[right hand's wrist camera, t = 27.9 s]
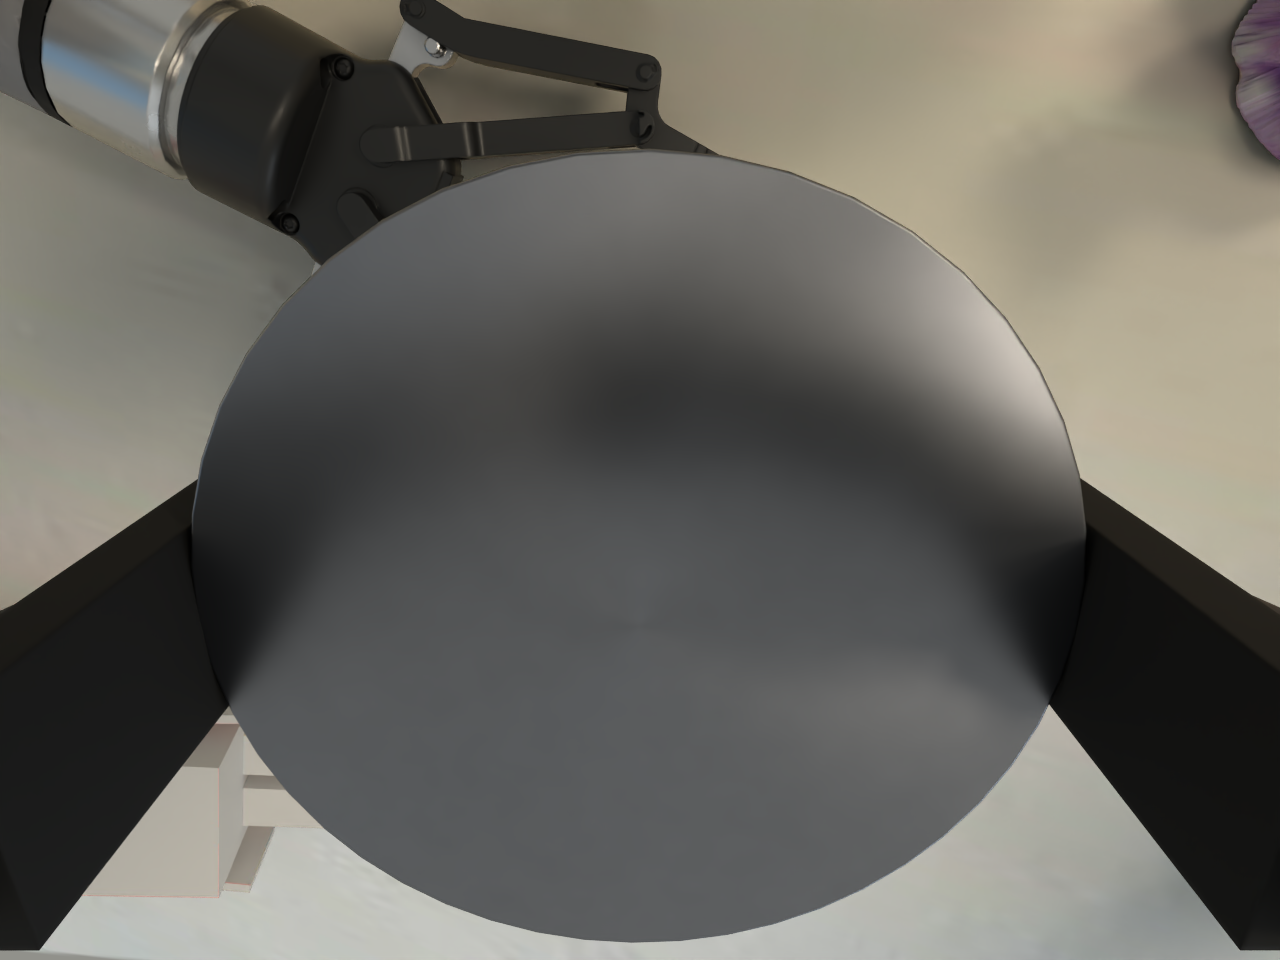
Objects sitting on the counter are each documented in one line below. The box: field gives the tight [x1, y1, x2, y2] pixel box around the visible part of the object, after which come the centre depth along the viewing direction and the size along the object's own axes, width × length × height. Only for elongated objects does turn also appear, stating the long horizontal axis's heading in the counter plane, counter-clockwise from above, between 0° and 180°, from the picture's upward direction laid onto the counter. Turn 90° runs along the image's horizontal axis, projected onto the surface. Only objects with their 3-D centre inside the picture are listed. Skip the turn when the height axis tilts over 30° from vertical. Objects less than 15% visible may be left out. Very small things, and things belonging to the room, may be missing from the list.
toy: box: [82, 707, 323, 898], centre depth 43 cm, size 12×13×30 cm
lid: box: [191, 149, 1086, 942], centre depth 11 cm, size 11×11×2 cm
